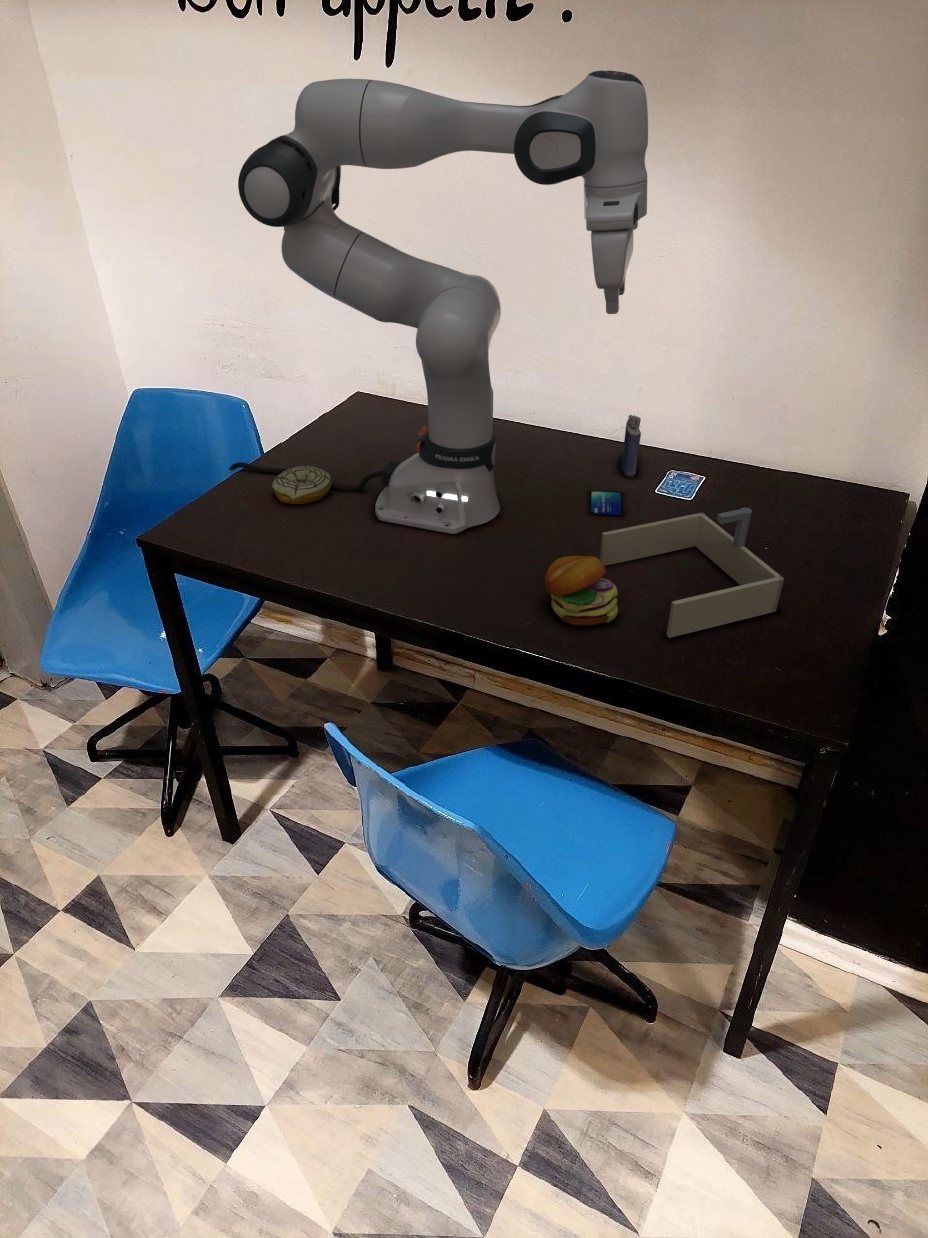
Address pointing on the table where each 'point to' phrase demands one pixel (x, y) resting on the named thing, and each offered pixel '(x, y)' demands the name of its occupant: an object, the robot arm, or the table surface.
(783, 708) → the table surface
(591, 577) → the cheeseburger
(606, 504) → the credit card
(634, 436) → the flask
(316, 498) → the decorated donut
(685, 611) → the grey u-shaped wall
